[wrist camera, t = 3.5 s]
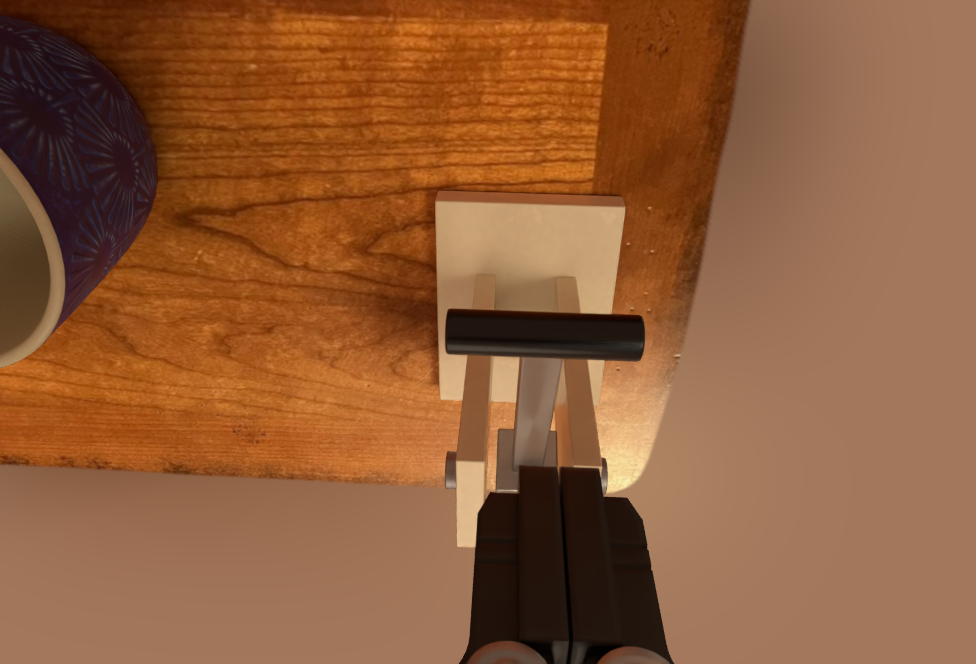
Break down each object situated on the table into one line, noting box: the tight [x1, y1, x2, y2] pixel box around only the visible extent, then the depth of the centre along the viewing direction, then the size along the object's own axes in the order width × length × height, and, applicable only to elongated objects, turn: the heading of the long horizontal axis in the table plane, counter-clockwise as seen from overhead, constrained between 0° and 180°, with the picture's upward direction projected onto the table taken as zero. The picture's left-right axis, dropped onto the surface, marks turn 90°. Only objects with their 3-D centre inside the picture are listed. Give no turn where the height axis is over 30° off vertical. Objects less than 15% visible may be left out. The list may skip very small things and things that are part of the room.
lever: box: [445, 308, 645, 493], centre depth 23 cm, size 12×5×2 cm, turn 178°
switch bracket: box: [435, 191, 626, 547], centre depth 31 cm, size 12×9×15 cm
